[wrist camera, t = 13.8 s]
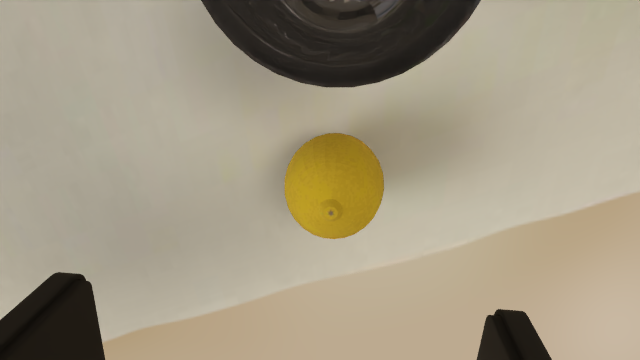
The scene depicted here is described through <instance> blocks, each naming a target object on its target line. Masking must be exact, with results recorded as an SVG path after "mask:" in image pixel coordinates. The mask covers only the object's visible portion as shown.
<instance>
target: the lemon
mask: <svg viewBox="0 0 640 360" xmlns="http://www.w3.org/2000/svg"><path fill="white" fill-rule="evenodd" d="M383 191H384V180H383V172H382V169H381V166H380V163H379V161H378V159H377V158H376V156H375V155H374V153H373V152H372V150H371V149H370V148H369V147H368V146H366V145H365V144H364V143H363V142H362V141H360V140H358V139H356V138H354V137H352V136H349V135H345V134H341V133H328V134H324V135H321V136H317V137H315V138H313V139H312V140H310V141H308V142H306V143H305V144H304V145H303V146H302V147H301V148H300V149H299V150H298V151H297V152H296V153H295V155H294V156H293V158H292V160H291V161H290V163H289V165H288V169H287V172H286V176H285V197H286V201H287V204H288V208H289V210H290V212H291V214H292V215H293V217H294V219H295V220H296V221H297V222H298V223H299V224H300V225H301V226H302V227H303V228H304V229H305V230H307V231H308V232H310V233H312V234H314V235H317V236H319V237H322V238H330V239H337V238H345V237H348V236H350V235H353V234H355V233H357V232H358V231H360V230H361V229H363V228H364V227H366V225H367V224H368V223H369V222H370V221H371V220H372V219H373V218H374V216H375V214H376V212H377V210H378V208H379V206H380V204H381V200H382V196H383Z"/></svg>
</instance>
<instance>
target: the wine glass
mask: <svg viewBox="0 0 640 360" xmlns="http://www.w3.org/2000/svg"><path fill="white" fill-rule="evenodd" d="M201 1H202V2H203V4H204V6H205V7H206V9H207V10H208V12H209V14H210V15H211V17H212V18H213V20H214V22H215V23H216V24H217V25H218V27H219V28H220V29H221V30H222V31H223V32H224V33H225V35H226V36H227V37H228V38H229V39H230V40H231V41H232V42H233V44H234V45H236V46H237V47H238V48H239V49H240V50H242V51H243V52H244V53H245V54H247V55H248V56H249V57H250V58H251V59H253V60H254V61H255V62H257V63H259V64H260V65H262V66H264V67H266V68H267V69H269V70H271V71H273V72H274V73H276V74H278V75H281V76H284V77H287V78H289V79H292V80H295V81H298V82H300V83H305V84H311V85H317V86H322V87H355V86H361V85H366V84H372V83H377V82H380V81H383V80H386V79H388V78H391V77H394V76H397V75H399V74H402V73H404V72H406V71H407V70H409V69H411V68H413V67H414V66H416V65H418V64H420V63H421V62H423V61H425V60H427V59H428V58H429V57H430V56H431V55H433V54H434V53H435V52H436V51H438V50H439V49H440V48H441V47H443V46H444V45H445V44H446V43H447V42H449V41H450V39H451V38H452V37H453V36H454V35H455V34H456V33H457V32H458V30H459V29H460V28H461V27H462V26H463V25H464V24H465V23H466V21H467V20H468V19H469V18H470V16H471V15H472V13H473V12H474V10H475V8H476V7H477V5H478V4H479V2H480V1H481V0H201Z"/></svg>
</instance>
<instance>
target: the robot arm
mask: <svg viewBox="0 0 640 360" xmlns="http://www.w3.org/2000/svg"><path fill="white" fill-rule="evenodd" d="M0 360H105V356H104V350H103V345H102V339H101V334H100V328H99V323H98V317H97V312H96V306H95V301H94V295H93V290H92V285H91V283H90V282H89V281H86V279H85V277H84V276H83V275H81V274H72V273H60V272H58V273H55V274H53V275H51V276H50V277H49V278H48V279H47V280H46V281H45V282H43V283H42V284H41V285H40V286H39V287H38V288H37V289H35V290H34V291H33V292H32V293H31V294H30V295H29V296H27V297H26V298H25V299H24V300H23V301H22V302H20V303H19V304H18V305H17V306H16V307H15V308H14V309H12V310H11V311H10V312H9V313H8V314H7V315H6V316H4V317H3V318H2V319H1V320H0ZM477 360H552V359H551V357H550V356H549V354H548V352H547V350H546V348H545V347H544V345H543V343H542V341H541V339H540V338H539V336H538V334H537V332H536V330H535V329H534V327H533V325H532V323H531V321H530V319H529V318H528V316H527V315H526V313H525V312H523V311H513V310H501V309H498V310H496V312H495V314H494V315H488V316H487V318H486V321H485V326H484V330H483V335H482V339H481V344H480V348H479V352H478V357H477Z"/></svg>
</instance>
